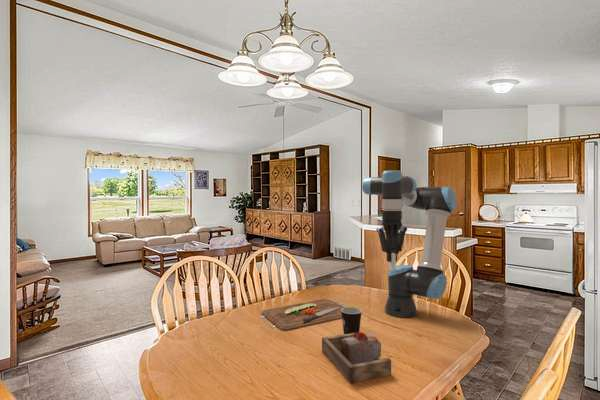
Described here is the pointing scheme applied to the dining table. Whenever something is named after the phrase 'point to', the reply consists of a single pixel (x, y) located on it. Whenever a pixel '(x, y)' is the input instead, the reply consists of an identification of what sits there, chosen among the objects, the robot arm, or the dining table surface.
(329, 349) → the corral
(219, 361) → the dining table surface
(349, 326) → the coffee mug
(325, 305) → the chopping board
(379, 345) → the food item
